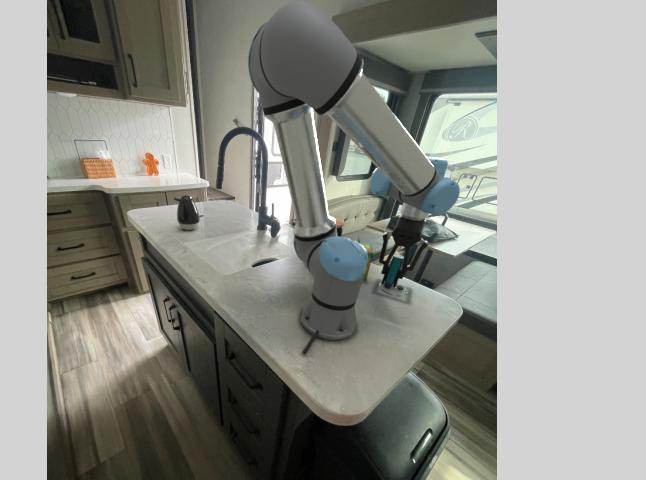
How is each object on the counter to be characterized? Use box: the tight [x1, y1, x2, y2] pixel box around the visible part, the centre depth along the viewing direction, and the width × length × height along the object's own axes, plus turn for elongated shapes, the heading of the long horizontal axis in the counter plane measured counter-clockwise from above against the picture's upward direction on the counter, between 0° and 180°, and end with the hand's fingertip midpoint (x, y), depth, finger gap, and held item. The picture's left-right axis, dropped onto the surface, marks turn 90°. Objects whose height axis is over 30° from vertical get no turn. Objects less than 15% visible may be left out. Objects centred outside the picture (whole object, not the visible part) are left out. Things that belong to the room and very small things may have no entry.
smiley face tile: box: [378, 281, 409, 297], centre depth 92 cm, size 10×11×1 cm
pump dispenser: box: [173, 194, 201, 231], centre depth 124 cm, size 10×10×15 cm
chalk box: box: [357, 234, 374, 282], centre depth 96 cm, size 9×9×15 cm
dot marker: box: [383, 253, 404, 288], centre depth 89 cm, size 3×3×11 cm
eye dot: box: [396, 285, 405, 291], centre depth 91 cm, size 2×2×1 cm
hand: (388, 283), depth 92 cm, fingers closed on dot marker, 3 cm apart
